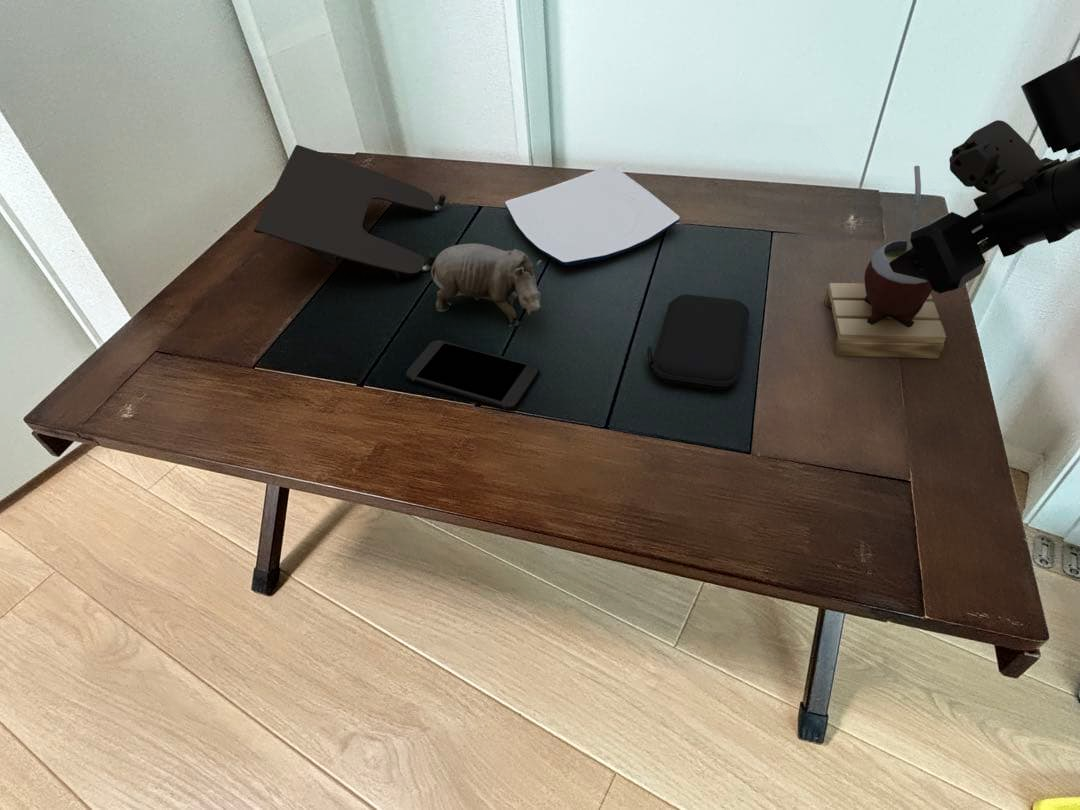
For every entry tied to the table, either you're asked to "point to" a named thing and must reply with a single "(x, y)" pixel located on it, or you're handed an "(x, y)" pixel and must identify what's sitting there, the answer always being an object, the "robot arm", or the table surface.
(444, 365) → the smartphone
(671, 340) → the carrying case
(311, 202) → the laptop tray
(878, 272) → the mate gourd
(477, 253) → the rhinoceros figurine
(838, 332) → the rack
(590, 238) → the plate
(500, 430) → the table surface
